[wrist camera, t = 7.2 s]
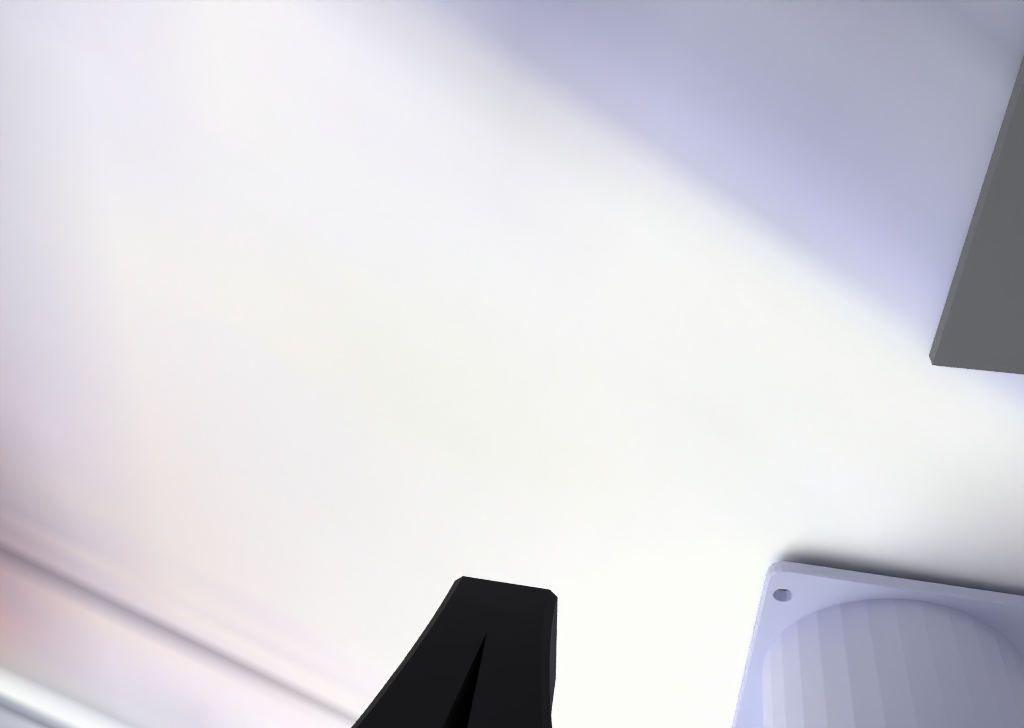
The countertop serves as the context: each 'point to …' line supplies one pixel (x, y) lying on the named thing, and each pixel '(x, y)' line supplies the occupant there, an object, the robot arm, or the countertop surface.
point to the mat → (991, 264)
